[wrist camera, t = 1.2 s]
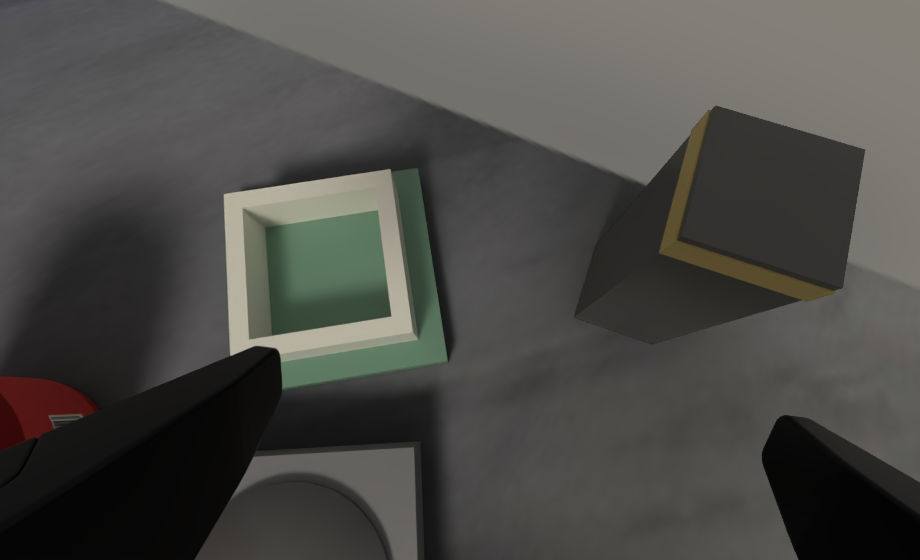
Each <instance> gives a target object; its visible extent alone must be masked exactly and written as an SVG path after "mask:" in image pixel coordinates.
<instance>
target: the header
mask: <svg viewBox="0 0 920 560" xmlns="http://www.w3.org/2000/svg"><path fill="white" fill-rule="evenodd" d="M224 220H225V244H226V269H227V294H228V318H229V343H230V356H231V355H234V354H236V353H239V352H241V351H244V350H246V349H248V348H251V347H253V346H264V347H272V348H276V349H277V350H278V351H279V353H280V357H281V371H282V390H288V389H294V388H300V387H306V386H312V385H318V384H324V383H330V382H336V381H342V380H348V379H355V378H361V377H367V376H373V375H379V374H385V373H391V372H397V371H403V370H409V369H415V368H421V367H427V366H433V365H439V364H445V363H448V357H447V350H446V344H445V337H444V331H443V325H442V318H441V312H440V305H439V299H438V292H437V286H436V279H435V273H434V267H433V260H432V254H431V247H430V241H429V234H428V228H427V221H426V215H425V208H424V202H423V196H422V189H421V183H420V177H419V172H418V168H413V169H407V170H400V171H393V172H391V170H390V169H387V170H381V171H374V172H367V173H361V174H354V175H348V176H341V177H334V178H328V179H321V180H315V181H308V182H301V183H295V184H288V185H282V186H275V187H268V188H262V189H255V190H249V191H242V192H235V193H229V194H224Z"/></svg>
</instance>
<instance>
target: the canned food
mask: <svg viewBox="0 0 920 560" xmlns="http://www.w3.org/2000/svg"><path fill="white" fill-rule="evenodd" d="M99 410H100V409H99V408H98V407H97V406H96V405H95V404H94V403H93V401H92V400H91V399H89V398H88V397H86V396H85V395H84V394H82V393H81V392H79V391H77V390H75V389H73V388H71V387H68V386H66V385H64V384H61V383H59V382H56V381H52V380H46V379H40V378H25V377H8V376H0V451H2V450H5V449H7V448H9V447H12V446H14V445H16V444H19V443H21V442H24V441H26V440H28V439H31V438H33V437H37V438H38V439H39V437H40V435H41V434H43V433H46V432H48V431H50V430H53V429H55V428H58V427H60V426H63V425H65V424H67V423H70V422H72V421H75V420H77V419H79V418H82V417H84V416H87V415H89V414H91V413H94V412H96V411H99Z"/></svg>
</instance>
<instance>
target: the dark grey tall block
mask: <svg viewBox="0 0 920 560" xmlns="http://www.w3.org/2000/svg"><path fill="white" fill-rule="evenodd" d="M864 153H865V150H864V149H861V148H858V147H854V146H851V145H847V144H844V143H841V142H837V141H834V140H831V139H827V138H824V137H820V136H817V135H814V134H810V133H807V132H803V131H800V130H797V129H793V128H790V127H787V126H783V125H780V124H776V123H773V122H770V121H766V120H763V119H759V118H756V117H752V116H749V115H746V114H742V113H739V112H736V111H732V110H729V109H725V108H722V107H719V106H715V107H714V108H713V109H712V110H711V111H710V110H708V111H707V112H706V114H705V115H704V116H703V117H702V118H701V120H700V121H699V122H698V123H697V124H696V126H695V127H694V128H693V129H692V131H691V134H690V136H689V137H688V138H687V140H686V141H685V142H684V143H683V144H682V145H681V146H680V148H679V149H678V150H677V151H676V152H675V153H674V155H673V156H672V157H671V158H670V159H669V161H668V162H667V163H666V164H665V165H664V166H663V167H662V169H661V170H660V171H659V172H658V173H657V175H656V176H655V177H654V178H653V179H652V180H651V182H650V183H649V184H648V185H647V186H646V187H645V189H644V190H643V191H642V192H641V193H640V194H639V196H638V197H637V198H636V199H635V200H634V201H633V203H632V204H631V205H630V206H629V207H628V208H627V210H626V211H625V212H624V213H623V214H622V215H621V217H620V218H619V219H618V220H617V221H616V222H615V224H614V225H613V226H612V227H611V228H610V229H609V231H608V232H607V233H606V234H605V235H604V236H603V238H602V239H601V240H600V241H599V242H598V243H597V245H596V246H595V249H594V252H593V256H592V259H591V262H590V266H589V269H588V272H587V276H586V279H585V282H584V285H583V289H582V292H581V295H580V299H579V302H578V305H577V309H576V312H575V315H574V318H577V319H580V320H583V321H586V322H589V323H592V324H594V325H597V326H600V327H603V328H606V329H609V330H612V331H615V332H618V333H621V334H623V335H626V336H629V337H632V338H635V339H638V340H641V341H644V342H647V343H649V344H655V343H658V342H662V341H665V340H669V339H672V338H675V337H679V336H682V335H685V334H689V333H692V332H696V331H699V330H702V329H706V328H709V327H713V326H716V325H719V324H723V323H726V322H730V321H733V320H736V319H740V318H743V317H746V316H750V315H753V314H757V313H760V312H763V311H767V310H770V309H774V308H777V307H780V306H784V305H787V304H790V303H794V302H797V301H801V300H804V301H810V300H814V299H817V298H821V297H824V296H828V295H831V294H834V293H835V290H838V289H841V288H843V282H844V276H845V270H846V264H847V258H848V252H849V245H850V239H851V233H852V227H853V221H854V215H855V209H856V203H857V196H858V190H859V184H860V178H861V172H862V166H863V159H864Z"/></svg>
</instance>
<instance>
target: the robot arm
mask: <svg viewBox="0 0 920 560" xmlns="http://www.w3.org/2000/svg"><path fill="white" fill-rule="evenodd" d="M281 393H282V371H281V357H280V353H279V351H278V350H277V349H276V348H272V347H264V346H253V347H251V348H248V349H246V350H244V351H241V352H239V353H236V354H234V355H231V356H229V357H227V358H224V359H222V360H219V361H217V362H215V363H212V364H210V365H207V366H205V367H203V368H200V369H198V370H195V371H193V372H190V373H188V374H186V375H183V376H181V377H178V378H176V379H174V380H171V381H169V382H166V383H164V384H161V385H159V386H157V387H154V388H152V389H149V390H147V391H145V392H142V393H140V394H137V395H135V396H133V397H130V398H128V399H125V400H123V401H120V402H118V403H116V404H113V405H111V406H108V407H106V408H104V409H101V410H99V411H96V412H94V413H91V414H89V415H87V416H84V417H82V418H79V419H77V420H75V421H72V422H70V423H67V424H65V425H63V426H60V427H58V428H55V429H53V430H50V431H48V432H46V433H43V434H41V435H40V437H39V439H38V438H37V437H33V438H31V439H28V440H26V441H24V442H21V443H19V444H16V445H14V446H12V447H9V448H7V449H5V450H2V451H0V560H195V558H196V557H197V555H198V553H199V552H200V550H201V548H202V546H203V545H204V543H205V541H206V540H207V538H208V536H209V535H210V533H211V531H212V530H213V528H214V526H215V524H216V523H217V521H218V519H219V518H220V516H221V514H222V513H223V511H224V509H225V508H226V506H227V504H228V503H229V501H230V499H231V497H232V496H233V494H234V492H235V491H236V489H237V487H238V486H239V484H240V482H241V480H242V479H243V477H244V475H245V473H246V471H247V469H248V467H249V465H250V463H251V461H252V459H253V457H254V455H255V452H256V450H257V448H258V446H259V444H260V441H261V439H262V437H263V435H264V433H265V430H266V428H267V426H268V424H269V422H270V419H271V417H272V415H273V413H274V410H275V408H276V406H277V404H278V402H279V399H280V397H281ZM762 463H763V467H764V469H765V472H766V475H767V477H768V480H769V483H770V486H771V488H772V491H773V494H774V497H775V499H776V502H777V505H778V508H779V510H780V513H781V516H782V519H783V521H784V524H785V527H786V530H787V532H788V535H789V538H790V540H791V543H792V545H793V548H794V550H795V552H796V555H797V557H798V559H799V560H920V482H918V481H917V480H915V479H913V478H911V477H910V476H908V475H906V474H904V473H903V472H901V471H899V470H897V469H896V468H894V467H892V466H891V465H889V464H887V463H885V462H884V461H882V460H880V459H878V458H877V457H875V456H873V455H871V454H870V453H868V452H866V451H864V450H863V449H861V448H859V447H858V446H856V445H854V444H852V443H851V442H849V441H847V440H845V439H844V438H842V437H840V436H838V435H837V434H835V433H833V432H832V431H830V430H828V429H826V428H825V427H823V426H821V425H819V424H818V423H816V422H814V421H812V420H810V419H808V418H804V417H796V416H789V415H784V416H781V417H779V418H778V419H777V421H776V422H775V425H774V427H773V429H772V431H771V433H770V435H769V438H768V440H767V442H766V444H765V446H764V448H763V452H762Z"/></svg>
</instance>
